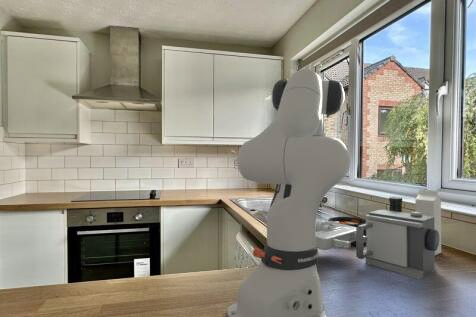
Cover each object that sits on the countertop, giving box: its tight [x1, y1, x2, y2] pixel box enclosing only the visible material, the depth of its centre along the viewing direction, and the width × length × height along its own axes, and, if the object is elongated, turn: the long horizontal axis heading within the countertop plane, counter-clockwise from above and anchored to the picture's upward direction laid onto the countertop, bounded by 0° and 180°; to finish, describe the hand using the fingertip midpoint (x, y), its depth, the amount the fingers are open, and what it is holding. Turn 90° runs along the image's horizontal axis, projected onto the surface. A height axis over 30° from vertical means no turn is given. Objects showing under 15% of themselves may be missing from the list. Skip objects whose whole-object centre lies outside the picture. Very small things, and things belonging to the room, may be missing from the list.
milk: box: [414, 189, 442, 256], centre depth 105 cm, size 6×6×22 cm
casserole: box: [327, 216, 366, 245], centre depth 121 cm, size 25×19×8 cm
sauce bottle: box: [388, 196, 403, 212], centre depth 104 cm, size 7×6×20 cm
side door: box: [355, 219, 407, 267], centre depth 89 cm, size 8×12×12 cm
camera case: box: [364, 209, 439, 280], centre depth 91 cm, size 10×18×17 cm, turn 37°
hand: (358, 242), depth 91 cm, fingers open, 8 cm apart
